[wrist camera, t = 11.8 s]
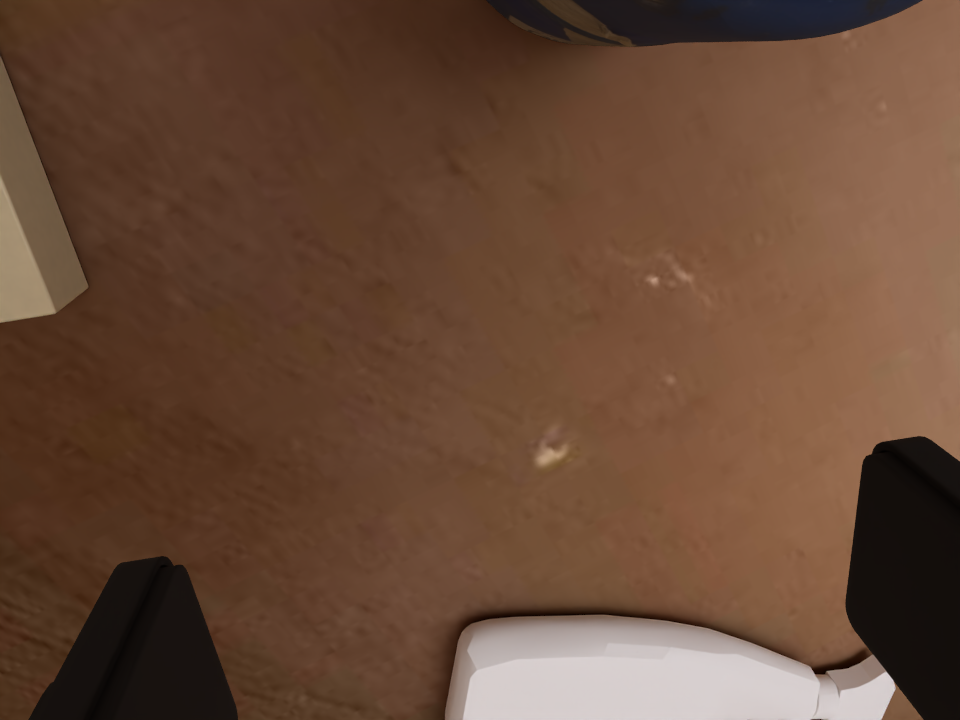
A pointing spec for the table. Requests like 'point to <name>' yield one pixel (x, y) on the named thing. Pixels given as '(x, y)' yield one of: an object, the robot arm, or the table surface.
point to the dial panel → (30, 225)
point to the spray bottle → (645, 674)
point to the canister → (691, 19)
